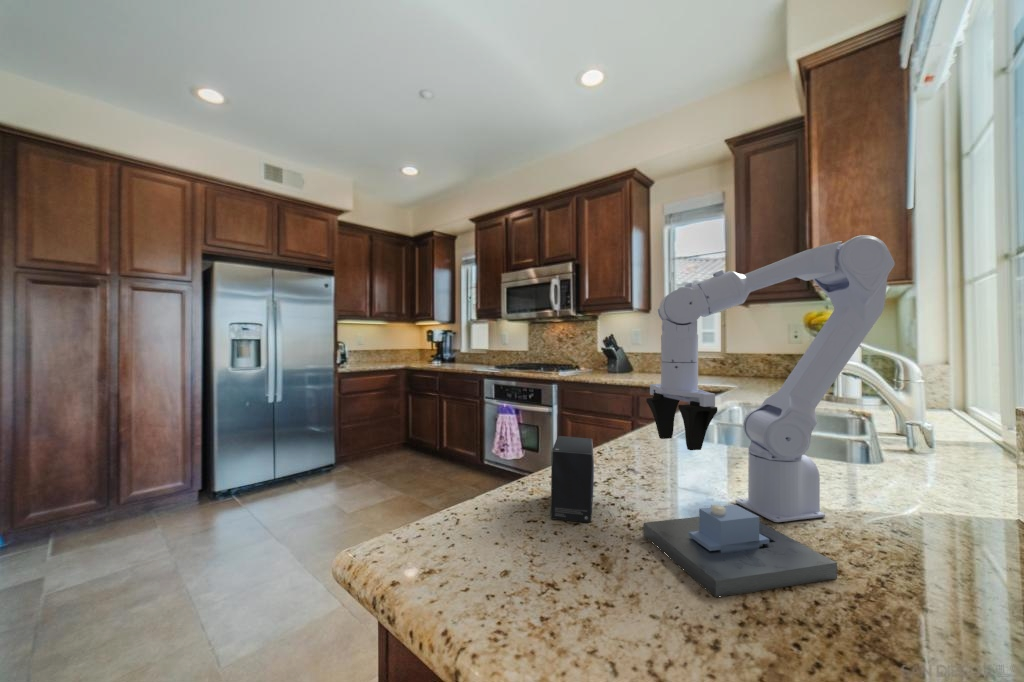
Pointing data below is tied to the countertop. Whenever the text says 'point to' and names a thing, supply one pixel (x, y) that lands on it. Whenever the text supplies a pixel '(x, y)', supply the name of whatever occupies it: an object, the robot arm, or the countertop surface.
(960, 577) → the countertop surface
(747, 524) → the servo
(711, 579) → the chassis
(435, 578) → the countertop surface
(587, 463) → the small box
